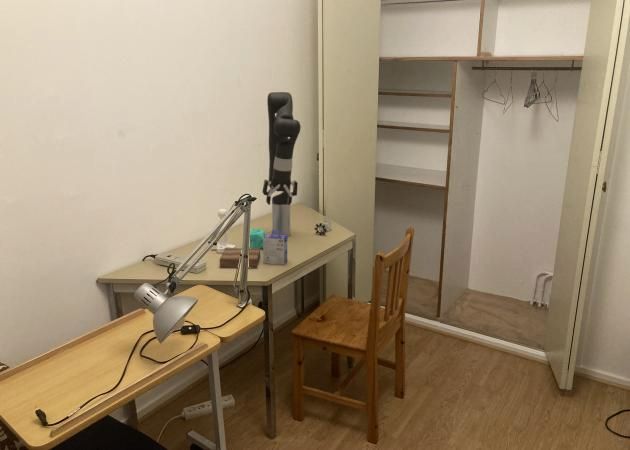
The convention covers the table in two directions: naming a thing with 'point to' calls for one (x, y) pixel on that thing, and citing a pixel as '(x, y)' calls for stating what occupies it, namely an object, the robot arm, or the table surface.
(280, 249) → the ink cartridge box
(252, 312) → the table surface
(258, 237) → the decorative dice
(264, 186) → the robot arm
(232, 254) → the walnut stand
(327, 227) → the valve
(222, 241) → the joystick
